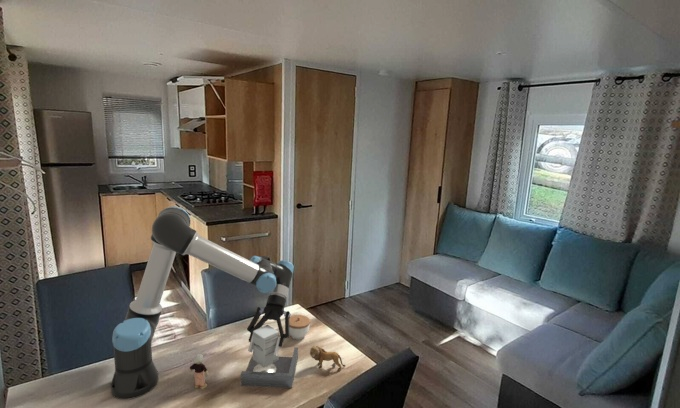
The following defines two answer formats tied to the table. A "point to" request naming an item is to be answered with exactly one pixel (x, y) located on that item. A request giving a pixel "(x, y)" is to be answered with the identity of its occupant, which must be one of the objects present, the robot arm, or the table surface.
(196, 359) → the grandmother figurine
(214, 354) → the table surface
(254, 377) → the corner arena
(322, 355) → the lion figurine
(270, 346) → the supplement box
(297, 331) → the lidded jar
